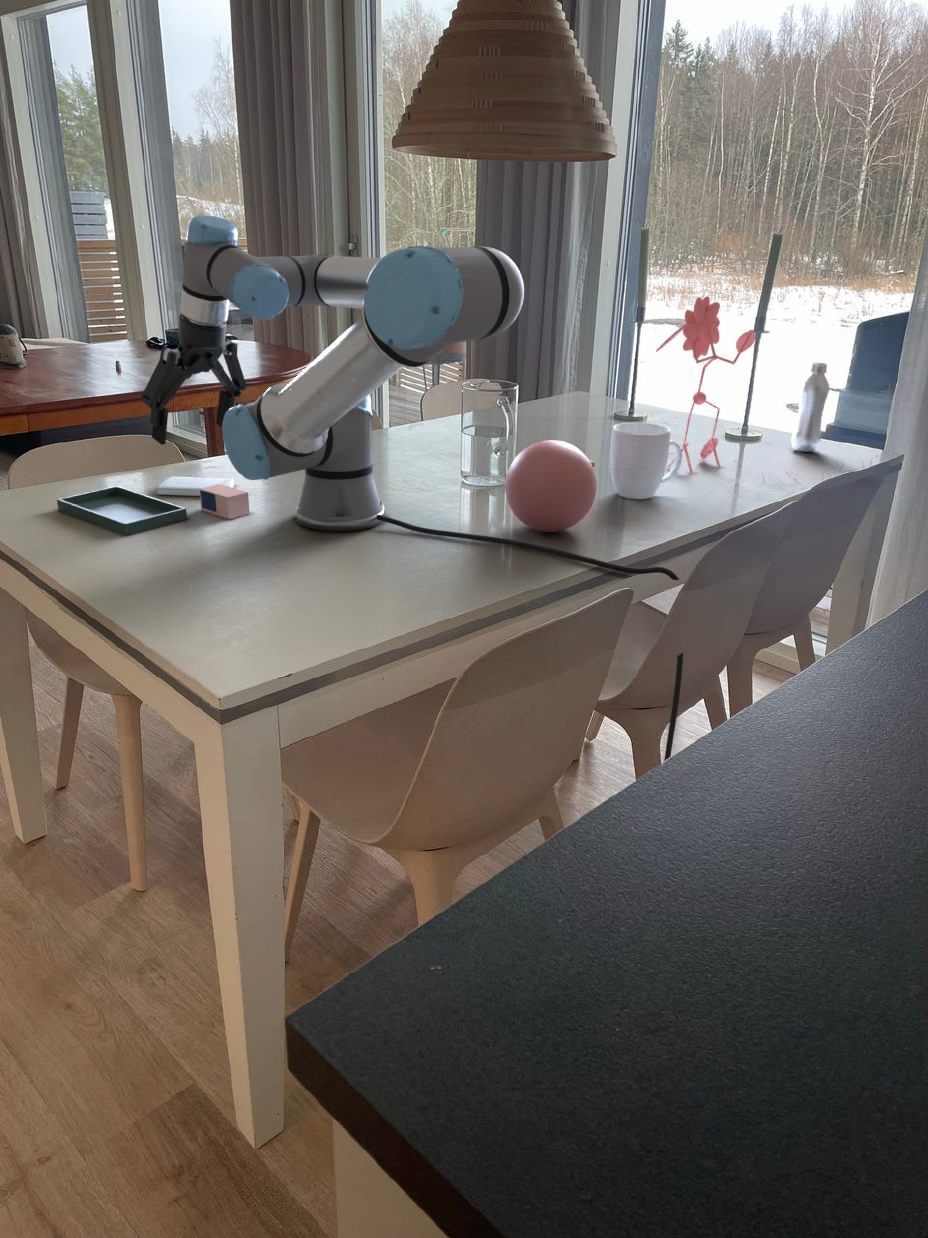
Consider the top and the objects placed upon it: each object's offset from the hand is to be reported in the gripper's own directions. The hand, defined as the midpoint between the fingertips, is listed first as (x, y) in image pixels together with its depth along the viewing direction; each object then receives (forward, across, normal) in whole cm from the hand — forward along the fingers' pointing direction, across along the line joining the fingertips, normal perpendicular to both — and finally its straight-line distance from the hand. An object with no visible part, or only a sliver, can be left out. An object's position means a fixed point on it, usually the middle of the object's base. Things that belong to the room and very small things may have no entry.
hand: (191, 433), depth 163 cm
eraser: (+11, -1, +10) cm, 15 cm away
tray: (+14, +12, -2) cm, 19 cm away
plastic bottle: (-7, -120, +70) cm, 139 cm away
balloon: (-4, -33, +57) cm, 66 cm away
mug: (-4, -61, +59) cm, 85 cm away
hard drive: (+16, -6, -4) cm, 17 cm away
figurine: (-2, -89, +54) cm, 105 cm away
